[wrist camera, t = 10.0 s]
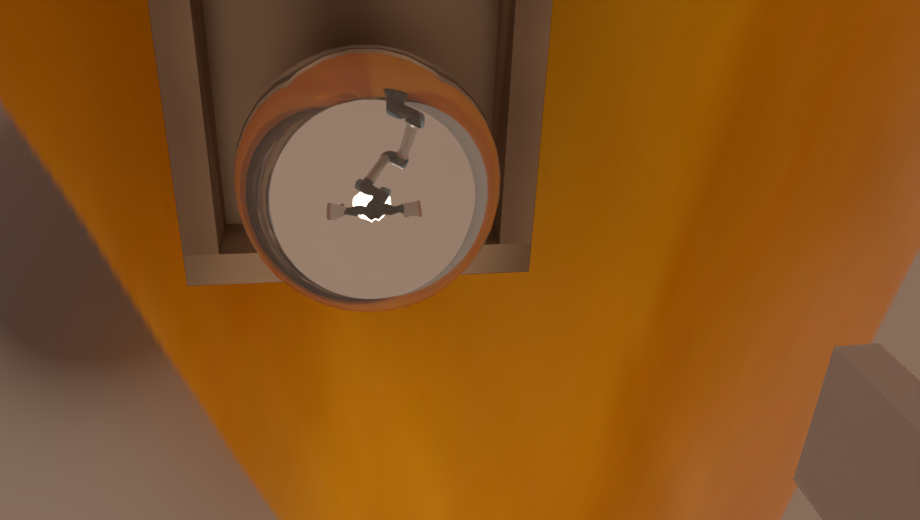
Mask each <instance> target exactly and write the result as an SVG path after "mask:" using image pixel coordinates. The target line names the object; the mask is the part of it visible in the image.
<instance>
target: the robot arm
mask: <svg viewBox="0 0 920 520" xmlns="http://www.w3.org/2000/svg"><path fill="white" fill-rule="evenodd" d="M793 480H794V481H795V483H796V484H797V486H798V487H799V488H800V490H801V491H802V492H803V494H804V495H805V496H806V498H807V499H808V501H809V502H810V503H811V505H812V506H813V507H814V509H815V510H816V512H817V513H818V514H819V516H820V517H821V518H822V520H920V381H919V380H918V379H917V378H916V377H915V376H914V375H913V374H912V373H910V371H908V370H907V369H906V368H905V367H904V366H903V365H902V364H901V363H900V362H898V361H897V360H896V359H895V358H894V357H893V356H892V355H891V354H890V353H889V352H888V351H886V350H885V349H884V348H883V347H882V346H881V345H880V344H864V345H847V346H834V349H833V353H832V356H831V359H830V362H829V366H828V369H827V372H826V375H825V379H824V382H823V385H822V388H821V392H820V395H819V398H818V401H817V405H816V408H815V411H814V414H813V417H812V421H811V424H810V427H809V430H808V434H807V437H806V440H805V443H804V447H803V450H802V453H801V456H800V460H799V463H798V466H797V469H796V473H795V476H794V479H793Z"/></svg>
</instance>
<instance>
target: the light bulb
mask: <svg viewBox="0 0 920 520" xmlns="http://www.w3.org/2000/svg"><path fill="white" fill-rule="evenodd" d="M233 177H234V191H235V200H236V208H237V211H238V213H239V216H240V219H241V222H242V225H243V228H244V231H245V233H246V234H247V236H248V238H249V239H250V241H251V243H252V244H253V246H254V248H255V250H256V251H257V253H258V255H259V256H260V258H261V260H262V261H263V262H264V263H265V264H266V265H267V266H268V267H269V268H270V270H271V271H272V272H273V273H274V274H275V275H276V276H277V277H278V278H279V279H281V280H282V281H283V282H285V283H286V284H287V285H289V286H290V287H291V288H293V289H294V290H295V291H297V292H299V293H301V294H303V295H305V296H307V297H309V298H311V299H313V300H315V301H317V302H319V303H322V304H325V305H328V306H331V307H335V308H338V309H342V310H348V311H357V312H381V311H390V310H395V309H399V308H403V307H408V306H410V305H413V304H415V303H418V302H420V301H423V300H425V299H427V298H429V297H431V296H433V295H434V294H436V293H437V292H439V291H440V290H442V289H444V288H445V287H447V286H448V285H449V284H450V283H451V282H452V281H453V280H455V279H456V278H457V277H458V276H459V275H460V274H461V273H462V272H463V271H464V270H465V269H467V268H468V266H469V265H470V264H471V262H472V261H473V260H474V258H475V257H476V256H477V254H478V253H479V252H480V251H481V249H482V247H483V245H484V243H485V241H486V239H487V237H488V235H489V233H490V231H491V228H492V225H493V221H494V217H495V213H496V209H497V205H498V201H499V196H500V178H501V173H500V166H499V160H498V153H497V148H496V145H495V141H494V138H493V136H492V133H491V130H490V128H489V125H488V123H487V120H486V117H485V116H484V114H483V113H482V111H481V110H480V108H479V107H478V105H477V104H476V102H475V100H474V99H473V97H472V96H471V95H470V94H469V93H468V92H467V91H466V90H465V89H464V88H463V87H462V86H461V85H460V84H459V83H458V82H457V81H456V80H455V79H454V78H453V77H452V76H451V75H450V74H449V73H447V72H446V71H444V70H443V69H441V68H440V67H438V66H437V65H435V64H434V63H432V62H431V61H429V60H428V59H425V58H423V57H421V56H418V55H416V54H413V53H411V52H408V51H406V50H403V49H398V48H393V47H388V46H382V45H347V46H343V47H338V48H333V49H328V50H324V51H322V52H320V53H317V54H315V55H313V56H310V57H308V58H306V59H303V60H301V61H299V62H298V63H297V64H295V65H294V66H292V67H291V68H289V69H288V70H287V71H285V72H284V73H282V74H281V75H279V76H278V77H277V79H276V80H275V81H274V82H273V83H272V84H271V85H270V86H269V87H268V88H267V89H266V90H265V91H264V92H263V93H262V95H261V96H260V98H259V99H258V101H257V102H256V104H255V106H254V107H253V109H252V111H251V112H250V114H249V116H248V118H247V119H246V121H245V123H244V125H243V128H242V131H241V134H240V137H239V140H238V143H237V146H236V153H235V162H234V172H233Z"/></svg>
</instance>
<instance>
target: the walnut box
mask: <svg viewBox="0 0 920 520" xmlns="http://www.w3.org/2000/svg"><path fill="white" fill-rule="evenodd" d="M552 1H553V0H148V6H149V13H150V20H151V28H152V35H153V42H154V49H155V56H156V64H157V71H158V78H159V85H160V92H161V100H162V107H163V114H164V121H165V128H166V136H167V143H168V150H169V157H170V164H171V172H172V179H173V186H174V193H175V200H176V208H177V215H178V222H179V229H180V236H181V244H182V251H183V258H184V265H185V272H186V280H187V286H195V285H219V284H243V283H267V282H283V281H282V280H281V279H279V278H278V277H277V276H276V275H275V274H274V273H273V272H272V271H271V270H270V268H269V267H268V266H267V265H266V264H265V263H264V262H263V261H262V260H261V258H260V256H259V255H258V253H257V251H256V250H255V248H254V246H253V244H252V243H251V241H250V239H249V238H248V236H247V234H246V233H245V231H244V228H243V225H242V222H241V219H240V216H239V213H238V211H237V208H236V200H235V191H234V177H233V172H234V162H235V153H236V146H237V143H238V140H239V137H240V134H241V131H242V128H243V125H244V123H245V121H246V119H247V118H248V116H249V114H250V112H251V111H252V109H253V107H254V106H255V104H256V102H257V101H258V99H259V98H260V96H261V95H262V93H263V92H264V91H265V90H266V89H267V88H268V87H269V86H270V85H271V84H272V83H273V82H274V81H275V80H276V79H277V77H278V76H279V75H281V74H282V73H284V72H285V71H287V70H288V69H289V68H291V67H292V66H294V65H295V64H297V63H298V62H299V61H301V60H303V59H306V58H308V57H310V56H313V55H315V54H317V53H320V52H322V51H324V50H328V49H333V48H338V47H343V46H347V45H382V46H388V47H393V48H398V49H403V50H406V51H408V52H411V53H413V54H416V55H418V56H421V57H423V58H425V59H428V60H429V61H431V62H432V63H434V64H435V65H437V66H438V67H440V68H441V69H443V70H444V71H446V72H447V73H449V74H450V75H451V76H452V77H453V78H454V79H455V80H456V81H457V82H458V83H459V84H460V85H461V86H462V87H463V88H464V89H465V90H466V91H467V92H468V93H469V94H470V95H471V96H472V97H473V99H474V100H475V102H476V104H477V105H478V107H479V108H480V110H481V111H482V113H483V114H484V116H485V117H486V120H487V123H488V125H489V128H490V130H491V133H492V136H493V138H494V141H495V145H496V148H497V153H498V160H499V166H500V173H501V178H500V196H499V201H498V205H497V209H496V213H495V217H494V221H493V225H492V228H491V231H490V233H489V235H488V237H487V239H486V241H485V243H484V245H483V247H482V249H481V251H480V252H479V253H478V254H477V256H476V257H475V258H474V260H473V261H472V262H471V264H470V265H469V266H468V268H467V269H465V270H464V271H463V272H462V273H461V274H482V273H505V272H529V264H530V252H531V241H532V229H533V218H534V207H535V195H536V184H537V172H538V161H539V149H540V138H541V127H542V115H543V104H544V92H545V81H546V70H547V58H548V47H549V35H550V24H551V12H552Z"/></svg>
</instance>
